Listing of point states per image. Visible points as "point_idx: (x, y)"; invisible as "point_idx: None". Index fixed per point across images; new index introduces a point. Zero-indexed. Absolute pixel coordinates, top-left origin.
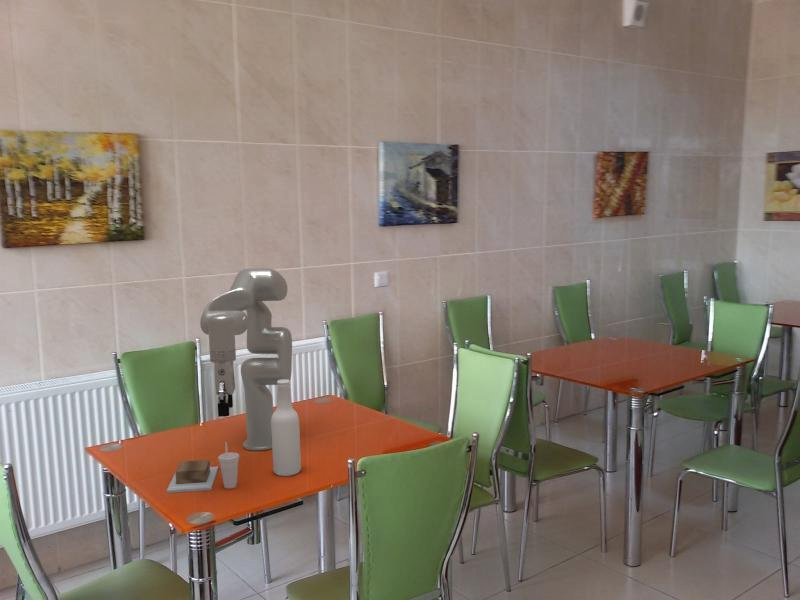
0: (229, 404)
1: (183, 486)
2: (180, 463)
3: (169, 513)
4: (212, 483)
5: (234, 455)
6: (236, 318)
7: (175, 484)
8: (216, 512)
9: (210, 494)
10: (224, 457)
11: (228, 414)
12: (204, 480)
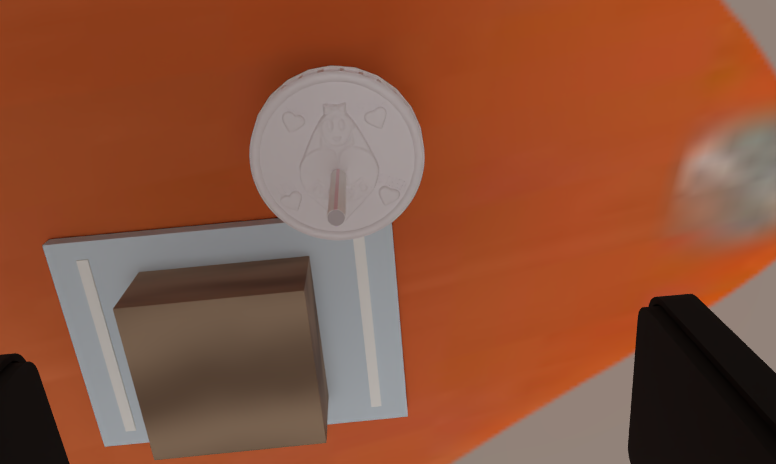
0: (16, 439)
1: (366, 355)
2: (187, 451)
3: None
4: None
5: (342, 111)
6: None
7: (330, 399)
8: (709, 112)
9: (452, 197)
10: (375, 186)
11: (697, 315)
12: (310, 269)
